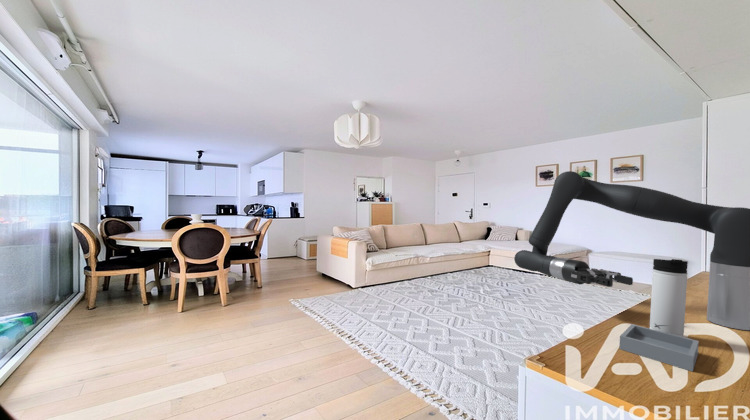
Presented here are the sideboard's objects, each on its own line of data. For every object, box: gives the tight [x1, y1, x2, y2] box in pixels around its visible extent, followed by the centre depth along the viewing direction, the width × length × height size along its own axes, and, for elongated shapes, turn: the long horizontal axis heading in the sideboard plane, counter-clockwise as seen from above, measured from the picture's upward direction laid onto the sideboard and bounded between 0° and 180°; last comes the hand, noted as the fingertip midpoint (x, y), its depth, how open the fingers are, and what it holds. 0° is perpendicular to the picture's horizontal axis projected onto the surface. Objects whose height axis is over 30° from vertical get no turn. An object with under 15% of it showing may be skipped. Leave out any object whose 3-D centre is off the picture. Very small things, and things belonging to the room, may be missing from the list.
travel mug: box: [649, 258, 689, 337], centre depth 77 cm, size 6×7×20 cm
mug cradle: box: [619, 323, 699, 373], centre depth 69 cm, size 12×12×3 cm
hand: (622, 282), depth 87 cm, fingers open, 8 cm apart
